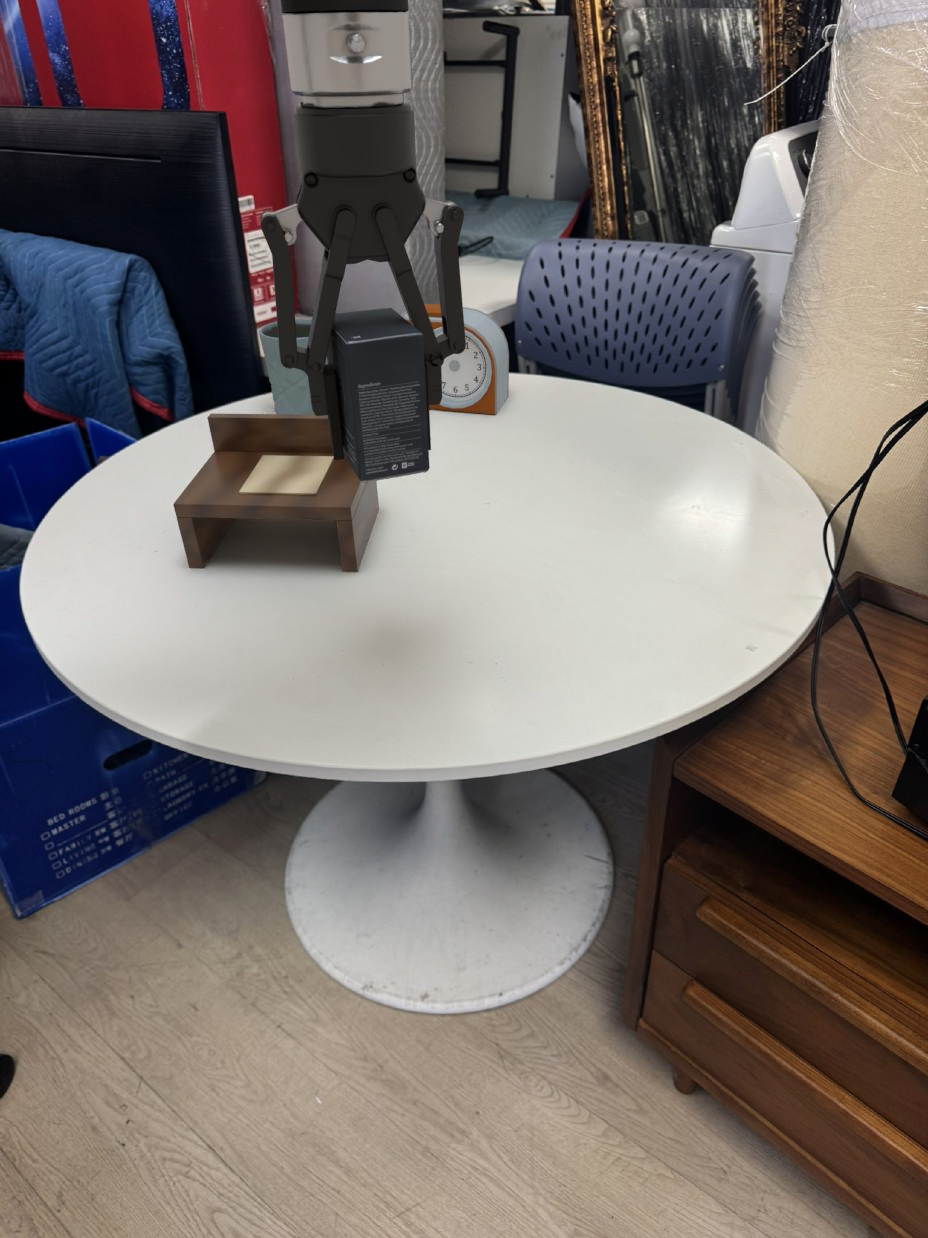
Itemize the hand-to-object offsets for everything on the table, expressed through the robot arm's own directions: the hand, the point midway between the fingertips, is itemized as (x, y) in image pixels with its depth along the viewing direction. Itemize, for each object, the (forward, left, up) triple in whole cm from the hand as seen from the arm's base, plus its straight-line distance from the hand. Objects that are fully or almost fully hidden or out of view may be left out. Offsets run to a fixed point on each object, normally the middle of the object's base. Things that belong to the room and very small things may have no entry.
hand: (380, 447), depth 64 cm
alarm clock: (0, +60, -19) cm, 63 cm away
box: (0, 0, -1) cm, 1 cm away
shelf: (-15, +18, -19) cm, 30 cm away
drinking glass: (-22, +56, -19) cm, 63 cm away
